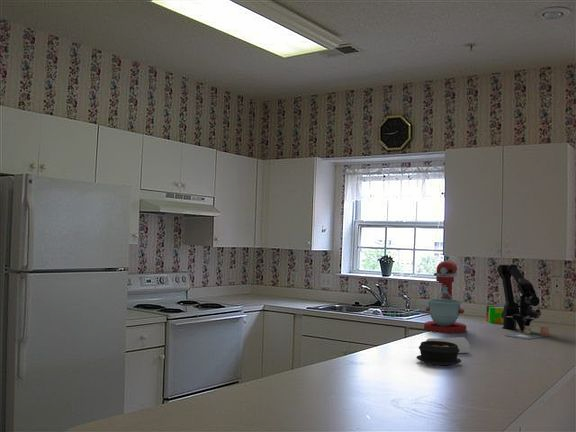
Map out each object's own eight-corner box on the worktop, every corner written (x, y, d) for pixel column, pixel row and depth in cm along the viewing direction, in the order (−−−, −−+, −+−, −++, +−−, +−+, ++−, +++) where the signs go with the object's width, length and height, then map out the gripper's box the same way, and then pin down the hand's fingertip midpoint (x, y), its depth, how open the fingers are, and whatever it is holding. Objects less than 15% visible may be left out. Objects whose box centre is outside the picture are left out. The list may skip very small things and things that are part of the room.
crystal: (431, 347, 276) (475, 346, 284) (423, 337, 282) (467, 336, 290) (426, 360, 279) (470, 358, 288) (418, 350, 285) (461, 348, 294)
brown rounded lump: (538, 335, 350) (539, 326, 350) (542, 334, 353) (542, 325, 353) (546, 336, 346) (547, 327, 346) (550, 335, 349) (550, 326, 349)
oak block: (518, 332, 356) (518, 325, 357) (522, 332, 360) (522, 325, 360) (526, 334, 353) (526, 327, 353) (530, 333, 356) (530, 326, 356)
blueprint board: (504, 335, 343) (504, 335, 343) (518, 333, 354) (518, 332, 354) (528, 339, 333) (528, 338, 333) (542, 337, 343) (542, 336, 343)
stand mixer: (420, 331, 349) (421, 260, 351) (427, 324, 379) (429, 259, 380) (463, 335, 341) (465, 262, 342) (468, 327, 370) (469, 261, 372)
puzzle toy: (501, 321, 405) (502, 306, 406) (505, 323, 395) (506, 308, 396) (486, 320, 406) (486, 305, 407) (489, 323, 396) (490, 307, 397)
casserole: (461, 371, 245) (462, 350, 246) (414, 367, 250) (414, 346, 251) (461, 360, 270) (461, 340, 270) (418, 356, 275) (418, 337, 275)
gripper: (530, 306, 345) (530, 334, 344) (546, 304, 357) (545, 331, 357) (512, 304, 353) (511, 331, 352) (527, 302, 365) (527, 329, 365)
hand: (524, 331), depth 356 cm, fingers closed on oak block, 5 cm apart
